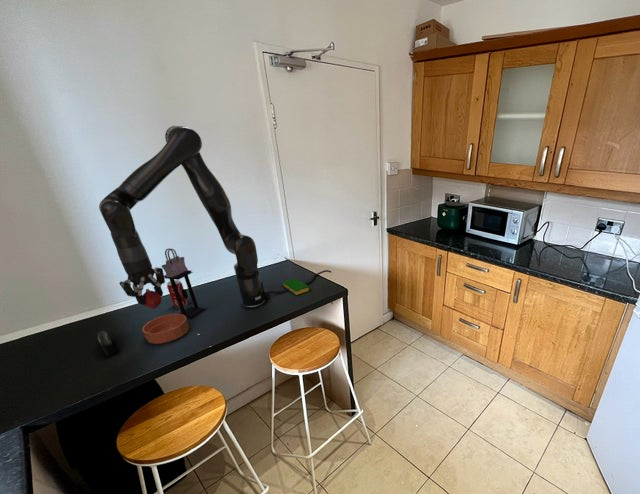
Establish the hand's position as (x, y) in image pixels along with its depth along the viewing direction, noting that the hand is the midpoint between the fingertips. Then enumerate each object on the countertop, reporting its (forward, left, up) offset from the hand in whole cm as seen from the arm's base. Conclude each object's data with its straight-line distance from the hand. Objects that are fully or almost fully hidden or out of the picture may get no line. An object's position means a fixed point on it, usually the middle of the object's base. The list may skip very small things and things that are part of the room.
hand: (151, 299), depth 115 cm
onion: (0, 0, -4) cm, 4 cm away
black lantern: (-17, -6, -17) cm, 24 cm away
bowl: (-2, -1, -16) cm, 17 cm away
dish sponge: (-51, +25, -17) cm, 59 cm away
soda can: (-21, -16, -17) cm, 31 cm away
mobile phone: (+11, -15, -17) cm, 25 cm away
